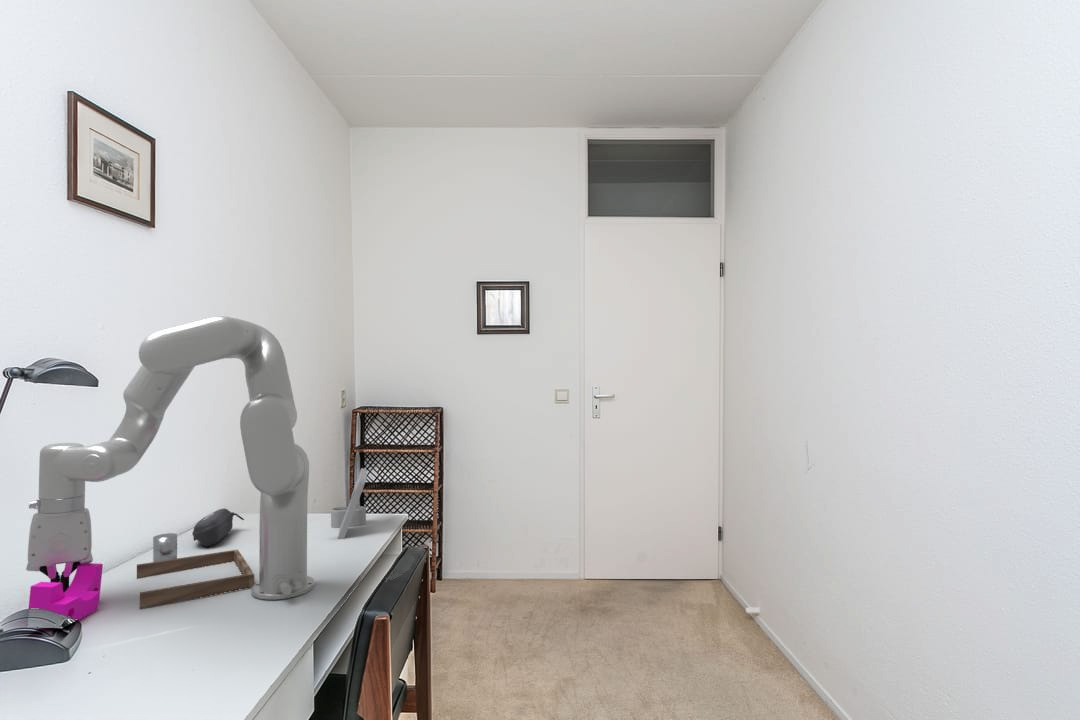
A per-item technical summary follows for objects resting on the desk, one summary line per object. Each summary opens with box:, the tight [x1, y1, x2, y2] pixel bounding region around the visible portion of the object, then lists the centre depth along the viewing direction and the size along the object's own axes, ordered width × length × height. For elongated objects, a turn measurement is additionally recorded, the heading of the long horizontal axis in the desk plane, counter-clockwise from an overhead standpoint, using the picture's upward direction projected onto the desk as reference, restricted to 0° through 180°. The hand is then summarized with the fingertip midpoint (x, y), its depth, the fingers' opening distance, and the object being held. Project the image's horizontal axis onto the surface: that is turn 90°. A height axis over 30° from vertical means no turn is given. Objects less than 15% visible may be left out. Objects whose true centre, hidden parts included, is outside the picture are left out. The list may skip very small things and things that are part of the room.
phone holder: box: [330, 467, 368, 540], centre depth 179 cm, size 17×10×18 cm, turn 16°
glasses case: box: [191, 508, 245, 548], centre depth 173 cm, size 18×10×8 cm, turn 12°
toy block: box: [28, 562, 104, 621], centre depth 122 cm, size 15×6×8 cm, turn 4°
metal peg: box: [152, 532, 178, 562], centre depth 153 cm, size 5×5×7 cm
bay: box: [136, 549, 255, 610], centre depth 140 cm, size 22×21×3 cm
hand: (59, 595), depth 127 cm, fingers closed
